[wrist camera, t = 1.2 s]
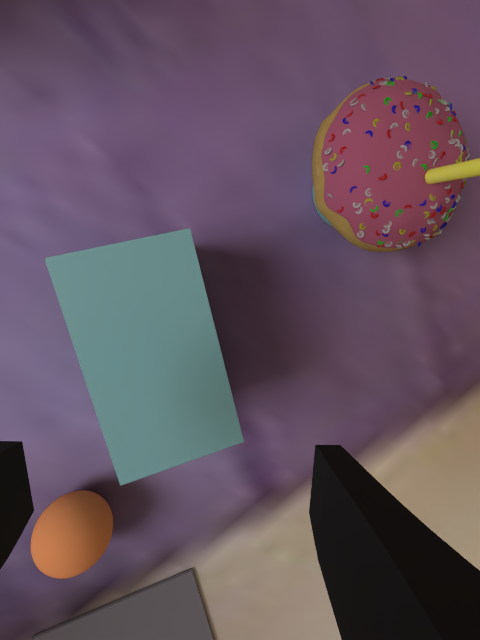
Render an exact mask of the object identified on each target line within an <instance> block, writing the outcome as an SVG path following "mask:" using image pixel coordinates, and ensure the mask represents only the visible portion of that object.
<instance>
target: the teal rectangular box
mask: <svg viewBox="0 0 480 640" xmlns="http://www.w3.org/2000/svg"><path fill="white" fill-rule="evenodd" d="M45 261H46V264H47V267H48V270H49V273H50V276H51V279H52V282H53V285H54V288H55V291H56V294H57V297H58V300H59V303H60V306H61V309H62V312H63V315H64V318H65V321H66V324H67V327H68V330H69V333H70V336H71V339H72V342H73V345H74V348H75V351H76V354H77V357H78V360H79V363H80V366H81V369H82V372H83V375H84V378H85V381H86V384H87V387H88V390H89V393H90V396H91V399H92V402H93V405H94V408H95V411H96V414H97V417H98V420H99V423H100V426H101V429H102V432H103V435H104V438H105V441H106V444H107V447H108V450H109V453H110V456H111V459H112V462H113V465H114V468H115V471H116V474H117V477H118V480H119V483H120V486H121V485H124V484H127V483H130V482H133V481H135V480H138V479H141V478H144V477H147V476H149V475H152V474H155V473H158V472H161V471H163V470H166V469H169V468H172V467H175V466H177V465H180V464H183V463H186V462H189V461H191V460H194V459H197V458H200V457H203V456H205V455H208V454H211V453H214V452H217V451H220V450H222V449H225V448H228V447H231V446H234V445H236V444H239V443H242V442H244V440H243V436H242V432H241V428H240V424H239V420H238V416H237V412H236V408H235V404H234V400H233V396H232V393H231V389H230V385H229V381H228V377H227V373H226V369H225V365H224V361H223V357H222V353H221V349H220V345H219V341H218V337H217V333H216V329H215V325H214V321H213V317H212V314H211V310H210V306H209V302H208V298H207V294H206V290H205V286H204V282H203V278H202V274H201V270H200V266H199V262H198V258H197V254H196V250H195V246H194V242H193V238H192V234H191V231H190V228H188V229H184V230H179V231H174V232H169V233H164V234H159V235H155V236H150V237H145V238H140V239H135V240H130V241H126V242H121V243H116V244H111V245H106V246H101V247H97V248H92V249H87V250H82V251H77V252H72V253H68V254H63V255H58V256H53V257H48V258H45Z"/></svg>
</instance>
